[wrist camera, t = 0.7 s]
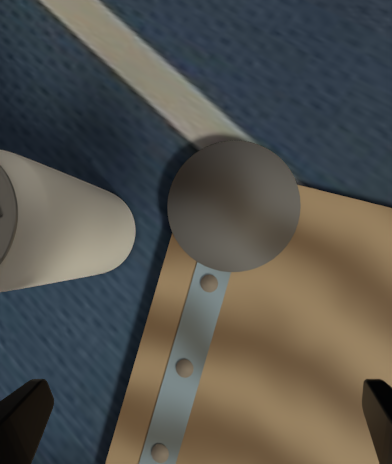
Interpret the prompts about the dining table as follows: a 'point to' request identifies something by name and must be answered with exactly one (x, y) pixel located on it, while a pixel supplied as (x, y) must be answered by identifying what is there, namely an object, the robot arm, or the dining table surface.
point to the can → (57, 226)
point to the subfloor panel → (260, 321)
